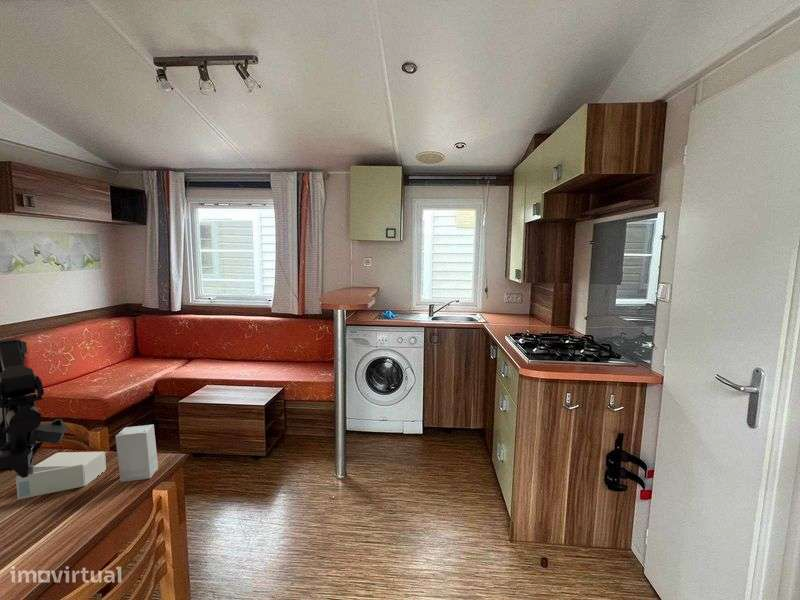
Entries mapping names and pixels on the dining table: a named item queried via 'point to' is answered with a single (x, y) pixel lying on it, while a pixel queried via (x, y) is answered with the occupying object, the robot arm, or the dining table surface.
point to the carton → (76, 463)
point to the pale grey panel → (50, 481)
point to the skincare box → (136, 453)
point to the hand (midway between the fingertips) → (25, 475)
